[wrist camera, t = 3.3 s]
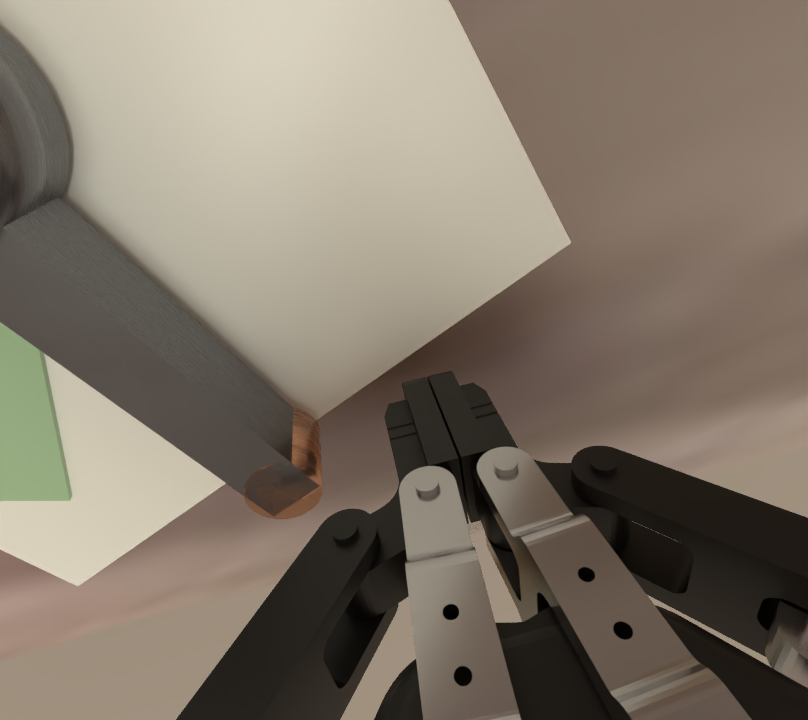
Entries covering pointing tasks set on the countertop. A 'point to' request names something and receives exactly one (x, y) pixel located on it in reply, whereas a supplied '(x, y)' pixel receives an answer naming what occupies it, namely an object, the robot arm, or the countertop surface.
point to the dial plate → (257, 223)
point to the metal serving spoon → (132, 320)
